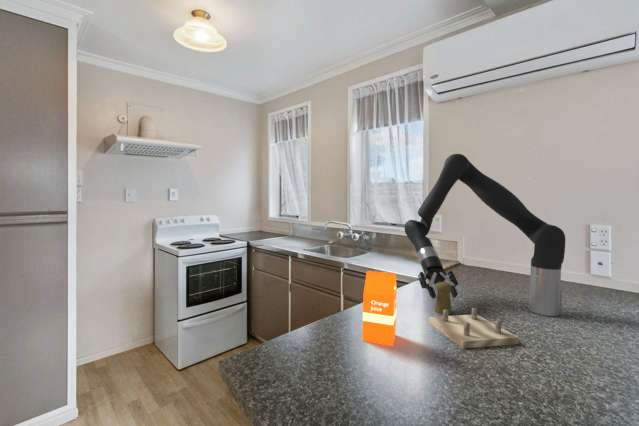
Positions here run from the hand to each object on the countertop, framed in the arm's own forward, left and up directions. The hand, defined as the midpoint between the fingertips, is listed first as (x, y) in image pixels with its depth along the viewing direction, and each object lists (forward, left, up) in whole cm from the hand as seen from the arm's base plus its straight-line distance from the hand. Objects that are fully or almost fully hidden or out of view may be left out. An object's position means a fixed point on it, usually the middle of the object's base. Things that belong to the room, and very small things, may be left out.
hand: (445, 297), depth 113 cm
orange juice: (+32, +16, -6) cm, 36 cm away
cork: (0, -1, -6) cm, 6 cm away
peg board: (+2, +17, -6) cm, 18 cm away
